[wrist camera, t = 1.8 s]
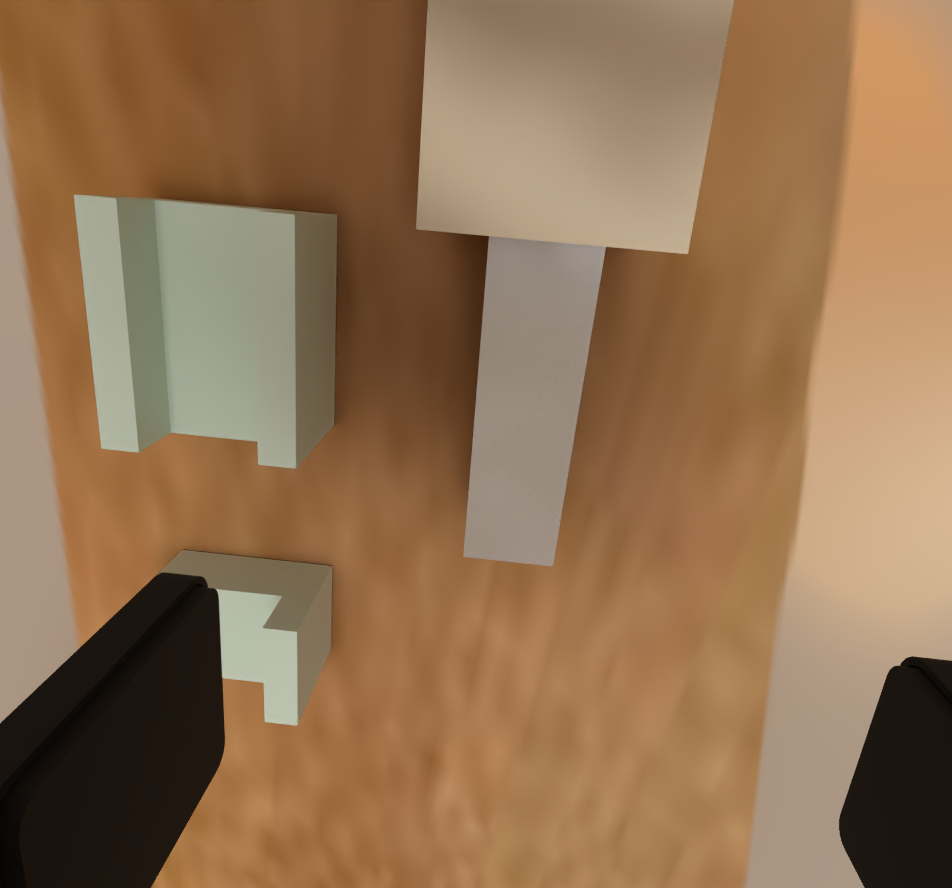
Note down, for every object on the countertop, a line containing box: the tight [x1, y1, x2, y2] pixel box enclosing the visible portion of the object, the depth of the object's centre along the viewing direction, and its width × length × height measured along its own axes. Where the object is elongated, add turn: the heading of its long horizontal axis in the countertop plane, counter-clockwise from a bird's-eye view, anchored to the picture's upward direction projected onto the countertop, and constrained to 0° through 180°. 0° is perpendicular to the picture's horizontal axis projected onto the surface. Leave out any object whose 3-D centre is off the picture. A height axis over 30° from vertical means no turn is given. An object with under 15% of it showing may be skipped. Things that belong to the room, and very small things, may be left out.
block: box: [416, 0, 734, 254], centre depth 17 cm, size 10×6×8 cm, turn 175°
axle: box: [463, 236, 606, 566], centre depth 20 cm, size 16×3×3 cm, turn 175°
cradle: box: [74, 195, 337, 726], centre depth 23 cm, size 18×6×4 cm, turn 175°
